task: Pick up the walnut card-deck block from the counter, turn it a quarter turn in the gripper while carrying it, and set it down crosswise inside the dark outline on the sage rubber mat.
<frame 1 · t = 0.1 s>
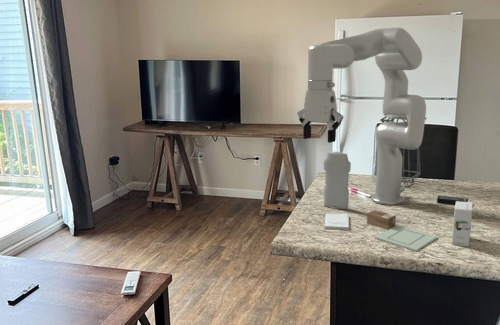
hand: (319, 140, 143), 31 cm above the kitchen island, tool pointing down, fingers open, 9 cm apart
mat: (406, 238, 143), on the kitchen island
external hard drive: (336, 224, 158), on the kitchen island
tall pale column: (335, 207, 173), on the kitchen island
ink box: (460, 241, 141), on the kitchen island
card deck: (380, 225, 155), on the kitchen island
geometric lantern: (399, 184, 203), on the kitchen island
multiport hub: (452, 204, 175), on the kitchen island
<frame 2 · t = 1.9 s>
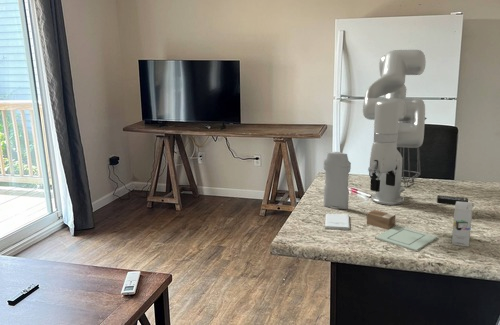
hand: (382, 188, 151), 13 cm above the kitchen island, tool pointing down, fingers open, 9 cm apart
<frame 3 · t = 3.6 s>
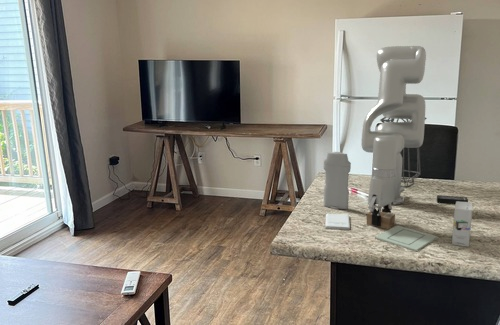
hand: (381, 222, 155), 1 cm above the kitchen island, tool pointing down, fingers closed on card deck, 5 cm apart
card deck: (380, 224, 155), on the kitchen island, touching gripper
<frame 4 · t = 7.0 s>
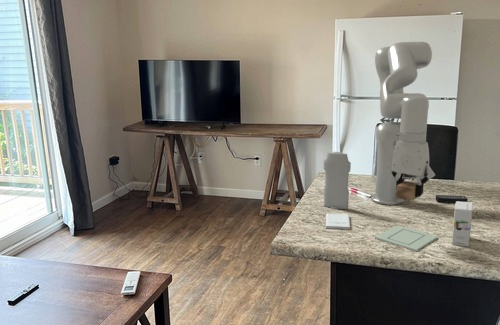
hand: (409, 193, 140), 15 cm above the kitchen island, tool pointing down, fingers closed on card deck, 5 cm apart
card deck: (408, 196, 140), point 14 cm above the kitchen island, touching gripper
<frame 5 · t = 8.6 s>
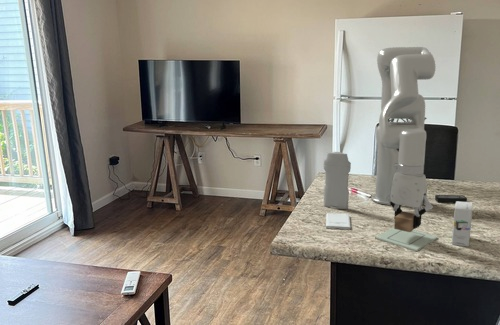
hand: (407, 224, 142), 5 cm above the kitchen island, tool pointing down, fingers closed on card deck, 5 cm apart
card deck: (406, 226, 142), point 4 cm above the kitchen island, touching gripper
when the fingers open (3 cm above the kitchen island, at t = 9.9 s): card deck drops 2 cm, resting on mat.
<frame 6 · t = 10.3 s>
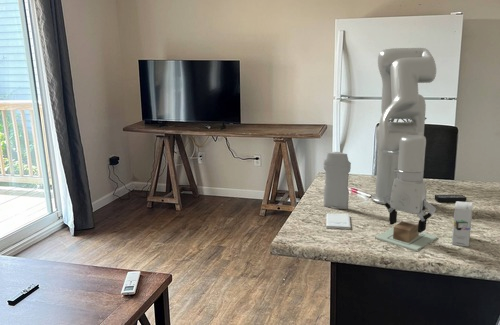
hand: (406, 227, 142), 4 cm above the kitchen island, tool pointing down, fingers open, 9 cm apart
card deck: (405, 236, 143), resting on mat
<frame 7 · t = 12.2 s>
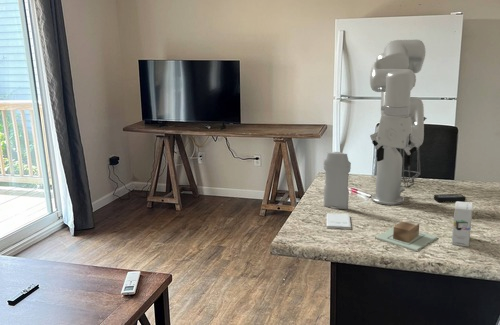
hand: (393, 163, 146), 23 cm above the kitchen island, tool pointing down, fingers open, 9 cm apart
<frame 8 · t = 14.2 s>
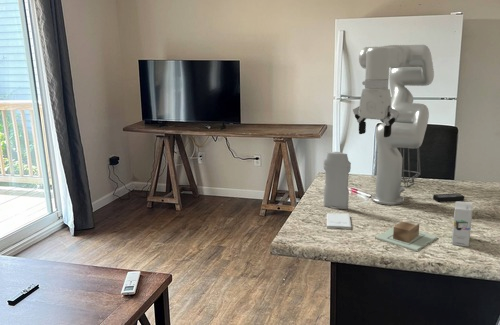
hand: (374, 135, 154), 30 cm above the kitchen island, tool pointing down, fingers open, 9 cm apart
at the end: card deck 0.1 cm off-centre on the mat, point 0.5 cm above the mat's base; the gripper is holding nothing; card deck moved 13.0 cm from its start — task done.
